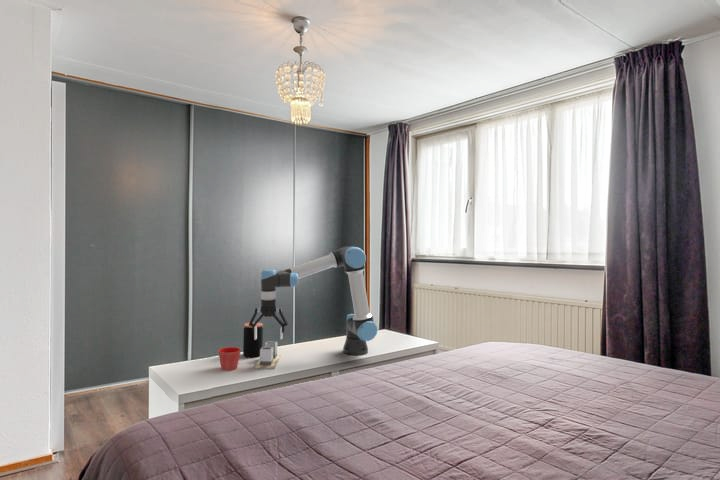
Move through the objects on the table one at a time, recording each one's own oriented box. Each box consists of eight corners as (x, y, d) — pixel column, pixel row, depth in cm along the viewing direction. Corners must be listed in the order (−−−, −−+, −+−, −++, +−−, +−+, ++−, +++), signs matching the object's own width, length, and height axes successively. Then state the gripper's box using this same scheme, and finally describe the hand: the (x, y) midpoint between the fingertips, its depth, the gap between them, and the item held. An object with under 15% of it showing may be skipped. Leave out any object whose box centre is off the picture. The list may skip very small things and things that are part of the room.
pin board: (281, 358, 240) (281, 345, 240) (274, 368, 220) (274, 355, 220) (263, 357, 240) (263, 345, 240) (254, 368, 220) (255, 354, 220)
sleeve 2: (270, 365, 221) (271, 349, 221) (259, 365, 221) (260, 349, 221) (272, 362, 227) (273, 347, 227) (262, 361, 226) (262, 346, 226)
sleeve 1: (275, 358, 233) (275, 344, 233) (264, 358, 233) (264, 343, 233) (277, 355, 239) (277, 341, 239) (266, 355, 239) (267, 341, 238)
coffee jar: (266, 354, 246) (266, 323, 246) (254, 359, 236) (254, 326, 236) (251, 352, 251) (252, 321, 251) (239, 356, 241) (239, 324, 241)
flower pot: (228, 373, 211) (228, 353, 211) (213, 369, 217) (214, 350, 217) (244, 368, 220) (245, 349, 220) (230, 364, 226) (230, 345, 226)
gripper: (293, 297, 229) (293, 337, 229) (246, 297, 228) (246, 337, 228) (291, 299, 221) (291, 340, 221) (242, 300, 221) (243, 340, 221)
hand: (268, 339), depth 225 cm, fingers open, 13 cm apart
